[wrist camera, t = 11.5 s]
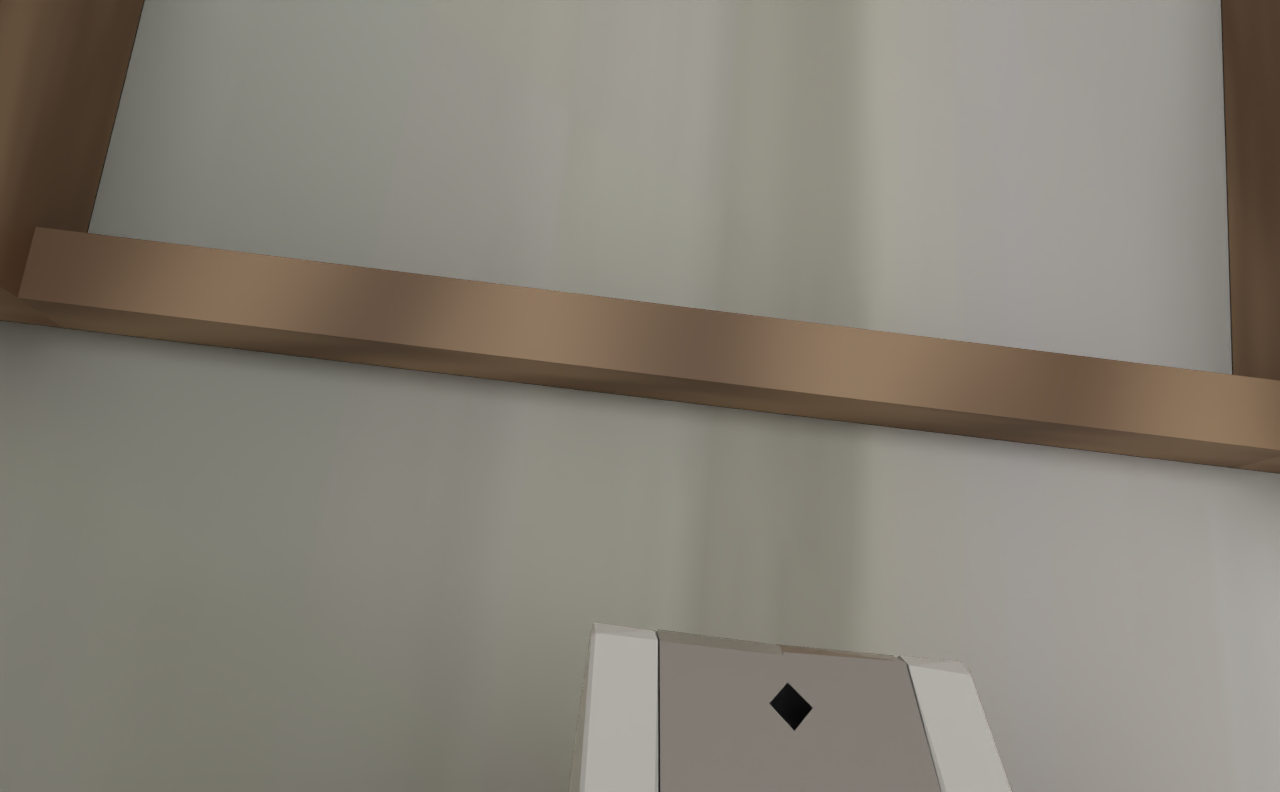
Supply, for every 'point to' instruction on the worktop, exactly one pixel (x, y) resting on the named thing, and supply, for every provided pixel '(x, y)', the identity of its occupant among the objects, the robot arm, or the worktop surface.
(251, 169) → the worktop surface
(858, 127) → the worktop surface
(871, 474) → the worktop surface
